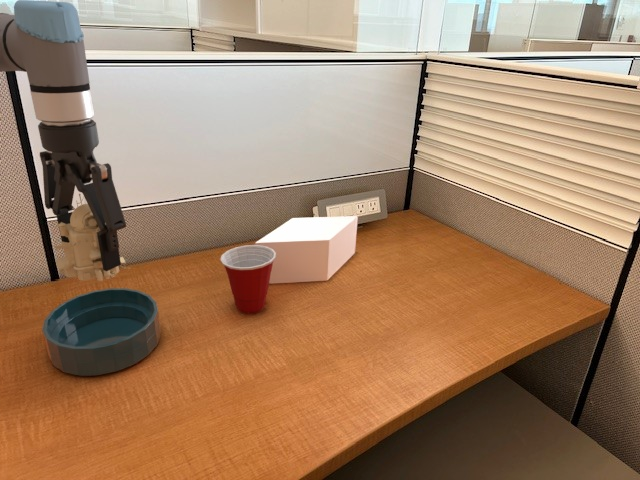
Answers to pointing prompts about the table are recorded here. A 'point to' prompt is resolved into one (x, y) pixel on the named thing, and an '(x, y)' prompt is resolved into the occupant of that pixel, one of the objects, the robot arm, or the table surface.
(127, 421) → the table surface
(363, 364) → the table surface
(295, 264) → the white rectangular box
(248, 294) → the plastic cup
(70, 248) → the robot
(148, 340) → the shallow teal bowl
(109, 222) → the robot arm
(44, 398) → the table surface
